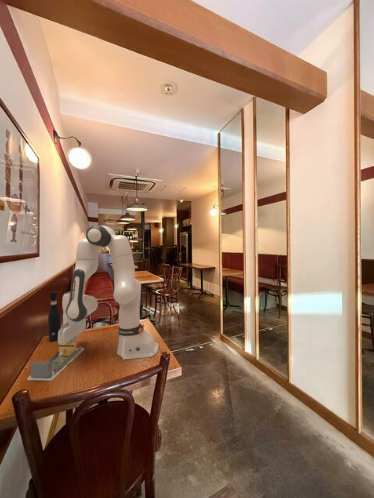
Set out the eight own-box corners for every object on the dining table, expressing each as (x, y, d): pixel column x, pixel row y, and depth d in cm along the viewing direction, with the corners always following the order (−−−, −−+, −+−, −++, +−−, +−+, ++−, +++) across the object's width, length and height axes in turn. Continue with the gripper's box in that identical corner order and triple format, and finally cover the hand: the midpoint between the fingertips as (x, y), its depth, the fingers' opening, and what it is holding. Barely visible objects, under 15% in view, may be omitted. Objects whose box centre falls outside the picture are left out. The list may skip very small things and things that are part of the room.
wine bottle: (59, 336, 135) (57, 290, 134) (62, 338, 131) (60, 291, 130) (47, 339, 130) (45, 292, 129) (51, 342, 126) (49, 293, 125)
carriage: (80, 350, 113) (79, 341, 113) (69, 360, 104) (69, 349, 104) (61, 350, 114) (61, 341, 114) (49, 359, 105) (49, 349, 105)
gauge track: (84, 349, 117) (83, 337, 117) (51, 380, 91) (50, 365, 91) (65, 349, 118) (64, 337, 117) (27, 380, 92) (26, 364, 91)
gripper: (65, 327, 105) (66, 354, 106) (87, 313, 125) (88, 336, 126) (53, 327, 105) (54, 354, 106) (77, 313, 126) (78, 336, 126)
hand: (73, 344), depth 116 cm, fingers closed
